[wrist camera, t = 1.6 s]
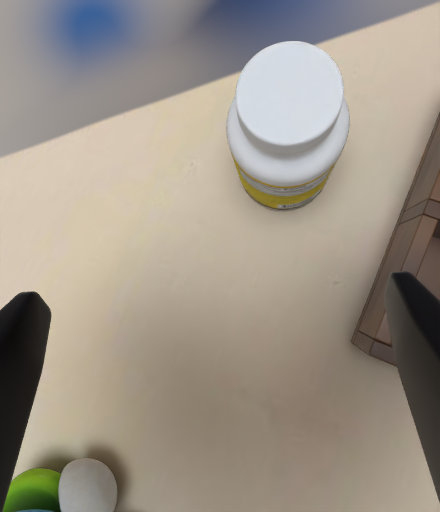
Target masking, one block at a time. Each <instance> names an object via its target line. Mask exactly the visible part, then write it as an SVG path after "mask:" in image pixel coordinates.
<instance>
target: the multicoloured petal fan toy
mask: <svg viewBox="0 0 440 512" xmlns="http://www.w3.org/2000/svg"><path fill="white" fill-rule="evenodd" d="M116 502H117V484H116V481H115V478H114V475H113V474H112V472H111V471H110V469H109V468H108V467H107V466H106V465H105V464H104V463H102V462H100V461H98V460H95V459H90V458H83V459H77V460H74V461H71V462H70V463H68V464H67V465H66V466H65V468H64V469H63V471H62V474H61V473H59V472H56V471H53V470H49V469H43V468H36V469H30V470H28V471H25V472H23V473H22V474H20V475H18V476H17V477H16V478H15V479H14V480H13V481H12V482H11V484H10V487H9V491H8V494H7V498H6V501H5V505H4V508H3V512H114V510H115V507H116Z"/></svg>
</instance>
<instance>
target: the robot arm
mask: <svg viewBox="0 0 440 512" xmlns="http://www.w3.org/2000/svg"><path fill="white" fill-rule="evenodd" d="M384 303H385V309H386V314H387V320H388V325H389V330H390V336H391V341H392V347H393V352H394V357H395V361H396V365H397V368H398V371H399V375H400V378H401V381H402V384H403V387H404V391H405V394H406V397H407V400H408V403H409V406H410V410H411V413H412V416H413V419H414V422H415V426H416V429H417V432H418V435H419V438H420V441H421V445H422V448H423V451H424V454H425V457H426V461H427V464H428V467H429V470H430V473H431V476H432V480H433V483H434V486H435V489H436V492H437V496H438V499H439V502H440V300H439V299H438V298H437V297H436V296H435V295H434V294H432V293H431V292H430V291H429V290H428V289H427V288H426V287H425V286H424V285H423V284H422V283H421V282H420V281H419V280H418V279H417V278H416V277H415V276H414V275H413V274H412V273H410V272H408V271H400V272H392V273H390V275H389V278H388V281H387V285H386V288H385V292H384ZM50 322H51V311H50V308H49V307H48V306H47V304H46V303H45V302H44V300H43V299H42V298H41V297H40V295H39V294H38V293H37V292H21V293H19V294H18V295H16V296H15V297H14V298H13V299H12V300H11V301H10V302H9V303H8V304H7V305H5V306H4V307H3V308H2V309H1V310H0V512H3V508H4V505H5V501H6V498H7V494H8V491H9V487H10V484H11V480H12V476H13V473H14V469H15V466H16V462H17V459H18V455H19V452H20V448H21V444H22V441H23V437H24V434H25V430H26V427H27V423H28V419H29V416H30V412H31V409H32V405H33V402H34V398H35V395H36V391H37V387H38V384H39V380H40V377H41V373H42V369H43V364H44V358H45V352H46V346H47V340H48V334H49V328H50Z"/></svg>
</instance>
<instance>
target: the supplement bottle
mask: <svg viewBox="0 0 440 512" xmlns="http://www.w3.org/2000/svg"><path fill="white" fill-rule="evenodd" d="M226 129H227V138H228V143H229V147H230V150H231V153H232V156H233V159H234V162H235V165H236V168H237V171H238V174H239V177H240V180H241V182H242V184H243V187H244V188H245V190H246V192H247V193H248V194H249V195H250V197H251V198H252V199H253V200H255V201H256V202H257V203H259V204H260V205H262V206H264V207H267V208H269V209H272V210H279V211H287V210H294V209H297V208H300V207H302V206H304V205H306V204H308V203H309V202H311V201H312V200H313V199H314V198H315V197H317V195H318V194H319V193H320V192H321V190H322V189H323V187H324V186H325V184H326V182H327V180H328V178H329V176H330V174H331V172H332V170H333V168H334V166H335V163H336V161H337V159H338V158H339V156H340V154H341V152H342V150H343V148H344V145H345V143H346V140H347V136H348V132H349V110H348V106H347V102H346V100H345V97H344V84H343V79H342V75H341V73H340V70H339V68H338V66H337V64H336V63H335V61H334V60H333V59H332V58H331V57H330V56H329V55H328V54H327V53H326V52H324V51H323V50H321V49H320V48H318V47H317V46H314V45H311V44H308V43H305V42H299V41H287V42H281V43H277V44H274V45H271V46H269V47H267V48H265V49H263V50H262V51H260V52H259V53H257V54H256V55H255V56H254V57H253V58H252V59H251V60H250V61H249V62H248V63H247V64H246V66H245V67H244V69H243V71H242V72H241V74H240V77H239V79H238V82H237V86H236V92H235V97H234V99H233V101H232V103H231V106H230V109H229V112H228V117H227V128H226Z"/></svg>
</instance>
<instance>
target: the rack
mask: <svg viewBox="0 0 440 512" xmlns="http://www.w3.org/2000/svg"><path fill="white" fill-rule="evenodd" d="M400 271H408V272H410V273H412V274H413V275H414V276H415V277H416V278H417V279H418V280H419V281H420V282H421V283H422V284H423V285H424V286H425V287H426V288H427V289H428V290H429V291H430V292H431V293H432V294H434V295H435V296H436V297H437V298H438V299H439V300H440V113H439V116H438V119H437V121H436V124H435V126H434V129H433V132H432V134H431V137H430V139H429V142H428V144H427V147H426V150H425V152H424V155H423V157H422V160H421V162H420V165H419V168H418V170H417V173H416V175H415V178H414V181H413V183H412V186H411V188H410V191H409V193H408V196H407V199H406V201H405V204H404V206H403V209H402V211H401V214H400V217H399V219H398V222H397V224H396V227H395V230H394V232H393V235H392V237H391V240H390V242H389V245H388V248H387V250H386V253H385V255H384V258H383V260H382V263H381V266H380V268H379V271H378V273H377V276H376V278H375V281H374V284H373V286H372V289H371V291H370V294H369V297H368V299H367V302H366V304H365V307H364V309H363V312H362V315H361V317H360V320H359V322H358V325H357V327H356V330H355V333H354V335H353V338H352V340H351V342H352V343H353V344H355V345H356V346H357V347H359V348H360V349H361V350H363V351H364V352H365V353H367V354H368V355H370V356H372V357H375V358H377V359H379V360H382V361H384V362H387V363H389V364H392V365H394V366H397V365H396V361H395V357H394V352H393V347H392V341H391V336H390V330H389V325H388V320H387V314H386V309H385V303H384V292H385V288H386V285H387V281H388V278H389V275H390V273H392V272H400Z"/></svg>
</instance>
